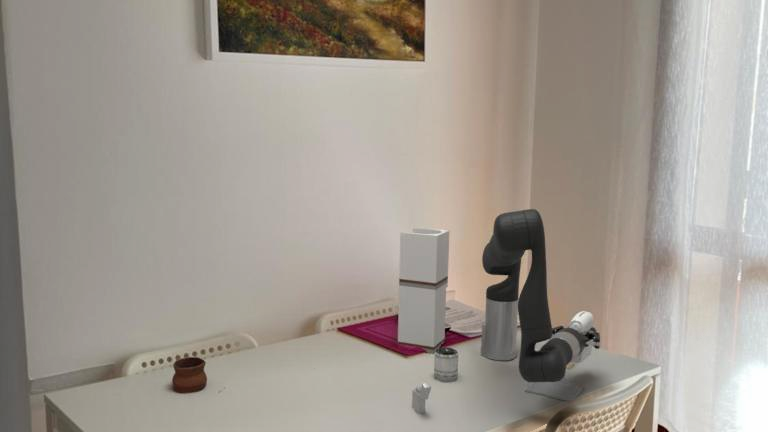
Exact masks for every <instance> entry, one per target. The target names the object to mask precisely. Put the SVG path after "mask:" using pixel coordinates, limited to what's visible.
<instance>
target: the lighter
mask: <svg viewBox="0 0 768 432" xmlns="http://www.w3.org/2000/svg"><path fill="white" fill-rule="evenodd" d="M431 390H432V386H431V384H430V382H425V383H422V384H421V387H420V386H416V387H415V388H414V389H412V399H411V407H412V408H413V409H414V410H415V411H416V412H417V413H418V414H425V413H426V401H427V400H428V399H429V396H430V393H431Z"/></svg>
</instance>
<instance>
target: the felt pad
mask: <svg viewBox="0 0 768 432" xmlns="http://www.w3.org/2000/svg"><path fill="white" fill-rule="evenodd" d="M583 390H584V387H582V386H576V385H572V384H567V383H562V382H560V381H557V382H531V384H530V385H529V386H527V388H525V390H524V392H525V393H526V392H527V393H530V394H534V395H535V394H536V395H538V396H544V397H548V398H551V399H556V400H561V401H566V402H570V403H572V402H573V401H574V400H575V399H576V398H577V397H578V395H580V393H582V391H583Z"/></svg>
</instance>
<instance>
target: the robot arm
mask: <svg viewBox="0 0 768 432" xmlns="http://www.w3.org/2000/svg"><path fill="white" fill-rule="evenodd" d="M545 233H546V232H545V226H544V222H543V219H542V215H541V213H540V212H539V211H538V210H537V209H536V208H530V209H522V210H515V211H510V212H508V211H507V212H504V213H500V214H499V215H498V216H496V218H495V220H494V222H493V231H492V235H491V237H490V238H489V239H490V240H489V242H488V243H487V244H486V245H485V247H484V248H483V252H482V258H481V261H482V263H481V264H482V267H483V270H484V271H485V273H487V274H488V275H492V276H506V277H505V279H504V280H502V281H501V282H498V283H495V284H491V285H490V286H488V287H487V288H486V291H485V316H484V318H485V319H484V322H483V323H482V326H481V343H480V344H481V346H480V347H481V348H480V349H481V350H480V356H483V357H486V358H488V359H490V360H495V361H511V360H513V359H516V354H517V353H516V352H517V334H518V332H517V331H518V321H519V326H520V327H519V328H520V335H521V336H520V340H521V341H520V351H519V359H518V372H519V374H520V376H521V378H522V379H523V380H524V381H525V382H527V383H534V382H560V381H562V380H563V379H564V378H565V376H566V373H567V371H566V370H567V369H566V365H567V364H569V363H570V362H572V361H573V360H574V359H575V358H576V357H577V356H578V355H579V354H580V353H581V352H582V351H583V349H584V347H588V346H589V345H592V348H593V347H594V349H596V350H598V349H600V346H601V345H600V344H601V335H600V332H598V331H597V329H596V327H594V326H593V327H592V328H591V329H590V330H589V331H583V332H582V331H581V332H578V331H577V330H575V329H572V328H570V325H569V326H566V327H565V326H563V325H559V326H556V327H553V326H552V321H551V319H552V318H551V314H550V313H551V311H550V307H549V300H548V280H547V277H548V276H547V253H546V251H547V250H546V235H545ZM526 251H531V264H530V267H529V268H530V269H529V271H528V275H527V277H526V280H525V283H524V284H523V286H522V288H521V291H520V294H519V290H520V276H521V275H520V273H521V267H522V265H521V264H522V258H523V257H524V254H525V252H526ZM518 319H519V320H518ZM546 341H547V342H546ZM541 342H546V343H543V345H542V346H541V347H540V348H539V350H536V345H537V344H538V343H541Z"/></svg>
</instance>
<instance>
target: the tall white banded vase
mask: <svg viewBox="0 0 768 432" xmlns="http://www.w3.org/2000/svg"><path fill="white" fill-rule="evenodd" d="M399 233H400V234H399V235H400V236H399V237H400V238H399V273H398V274H399V275H398V276H399V277H398V278H399V279H398V316H397V317H398V318H397V319H398V320H397V323H398V325H397V345H398V344H402V345H408V346H415V347H420V348H422V349H424V350H426V351H427V352H428V353H427V354H431V353H432V355H433V354H434V355H435V351H436V350H437V349H439V347H440V346H441V344H443V343H444V341H445V340H447V337H446V336H445V335H446V333H445V331H446V308H447V307H446V305H447V303H446V302H447V288H448V285H449V284H448V283H449V279H448V278H449V260H450V259H449V256H450V255H449V253H450V229H449V230H447V229H437V228H436V229H434V228H426V227H416V226H415V227H412V232H406V231H405V232H404V231H401V232H399Z"/></svg>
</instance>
